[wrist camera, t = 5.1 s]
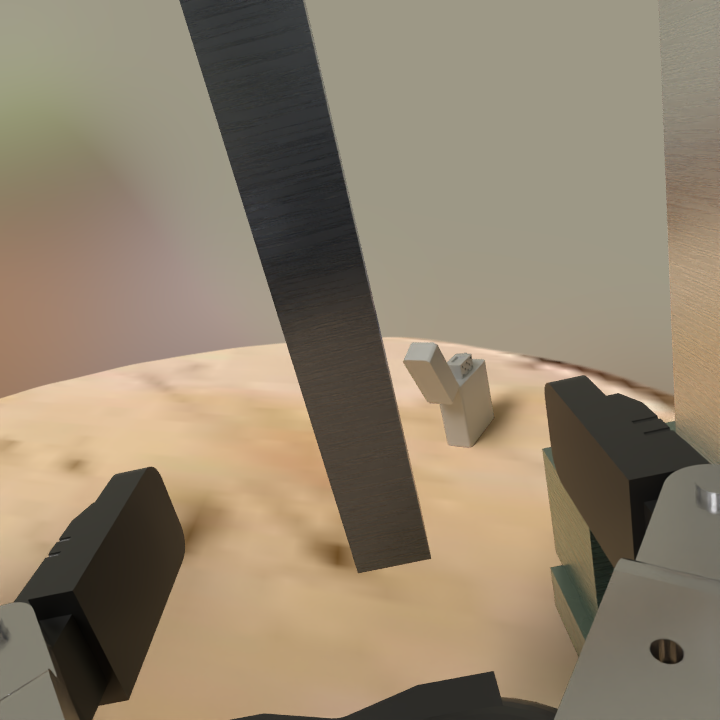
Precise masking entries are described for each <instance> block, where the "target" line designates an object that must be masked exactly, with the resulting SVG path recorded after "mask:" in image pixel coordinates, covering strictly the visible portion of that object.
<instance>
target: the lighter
mask: <svg viewBox="0 0 720 720" xmlns="http://www.w3.org/2000/svg"><path fill="white" fill-rule="evenodd" d="M403 363H404V364H405V366H406V368H407V369H408V371H409V373H410V374H411V376H412V378H413V379H414V381H415V382H416V384H417V386H418V387H419V389H420V391H421V392H422V394H423V396H424V397H425V399H426V400H427V402H429V403H436V404H440V408H441V413H442V418H443V423H444V428H445V433H446V438H447V443H448V445H451V446H460V447H468V448H469V447H472V446H473V445H474V443H475V442H476V441H477V439H478V438H479V437H480V436H481V434H482V433H483V432H484V430H485V429H486V428H487V426H488V425H489V424H490V422H491V421H492V420H493V418H494V413H493V407H492V401H491V395H490V389H489V383H488V377H487V371H486V365H485V360H483V359H472V356H471V354H467V353H464V354H455V355H454V356H453V357H452V358H451V359H450V360H449V361H448V362H446V360H445V358H444V356H443V355H442V353H441V351H440V349H439V347H438V345H437V344H435V343H412V344H411V345H410V347H409V350H408V352H407V354H406V356H405V358H404V361H403Z"/></svg>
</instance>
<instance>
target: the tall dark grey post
mask: <svg viewBox="0 0 720 720" xmlns="http://www.w3.org/2000/svg"><path fill="white" fill-rule="evenodd" d="M180 4H181V7H182V10H183V13H184V16H185V20H186V23H187V26H188V29H189V32H190V36H191V39H192V42H193V45H194V49H195V52H196V55H197V58H198V61H199V65H200V67H201V71H202V74H203V77H204V81H205V83H206V87H207V90H208V93H209V96H210V100H211V103H212V106H213V109H214V112H215V116H216V119H217V122H218V125H219V129H220V132H221V135H222V138H223V141H224V145H225V148H226V151H227V154H228V157H229V161H230V164H231V167H232V170H233V174H234V177H235V180H236V183H237V186H238V190H239V193H240V196H241V199H242V202H243V206H244V209H245V212H246V215H247V218H248V222H249V224H250V228H251V231H252V234H253V238H254V241H255V244H256V247H257V250H258V254H259V257H260V260H261V263H262V267H263V270H264V273H265V276H266V279H267V282H268V286H269V289H270V292H271V295H272V298H273V302H274V305H275V308H276V311H277V315H278V318H279V321H280V324H281V327H282V330H283V334H284V337H285V340H286V343H287V347H288V350H289V353H290V356H291V360H292V363H293V366H294V369H295V372H296V376H297V379H298V382H299V385H300V388H301V392H302V395H303V398H304V401H305V404H306V408H307V411H308V414H309V417H310V420H311V424H312V427H313V430H314V433H315V436H316V440H317V443H318V446H319V449H320V452H321V456H322V459H323V462H324V465H325V469H326V472H327V475H328V478H329V481H330V485H331V488H332V491H333V494H334V497H335V501H336V504H337V507H338V510H339V513H340V517H341V520H342V523H343V526H344V529H345V533H346V536H347V539H348V542H349V545H350V549H351V552H352V555H353V558H354V561H355V565H356V568H357V571H358V573H362V572H367V571H372V570H377V569H382V568H387V567H392V566H397V565H402V564H407V563H412V562H417V561H422V560H427V559H431V555H430V550H429V545H428V540H427V536H426V531H425V526H424V521H423V516H422V511H421V507H420V502H419V498H418V494H417V489H416V485H415V480H414V476H413V472H412V467H411V463H410V459H409V454H408V450H407V445H406V441H405V437H404V432H403V428H402V424H401V419H400V415H399V410H398V406H397V402H396V397H395V393H394V388H393V384H392V380H391V375H390V371H389V367H388V362H387V358H386V353H385V349H384V345H383V340H382V336H381V332H380V327H379V323H378V319H377V314H376V310H375V305H374V302H373V297H372V292H371V288H370V283H369V279H368V275H367V270H366V266H365V262H364V257H363V253H362V248H361V244H360V240H359V235H358V231H357V227H356V222H355V218H354V214H353V209H352V205H351V201H350V196H349V192H348V187H347V183H346V179H345V174H344V170H343V166H342V161H341V157H340V153H339V148H338V143H337V139H336V135H335V130H334V126H333V122H332V117H331V113H330V108H329V104H328V100H327V95H326V91H325V87H324V82H323V78H322V74H321V70H320V65H319V60H318V56H317V52H316V47H315V43H314V39H313V35H312V30H311V25H310V21H309V17H308V12H307V8H306V4H305V0H180Z"/></svg>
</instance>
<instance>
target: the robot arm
mask: <svg viewBox="0 0 720 720" xmlns="http://www.w3.org/2000/svg"><path fill="white" fill-rule="evenodd" d="M545 401H546V409H547V417H548V425H549V433H550V441H551V449H552V456H553V461H554V464H555V468H556V471H557V474H558V476H559V479H560V481H561V483H562V485H563V486H564V488H565V490H566V491H567V493H568V494H569V496H570V498H571V499H572V501H573V503H574V504H575V506H576V507H577V509H578V511H579V512H580V514H581V515H582V517H583V519H584V520H585V522H586V523H587V525H588V527H589V528H590V530H591V532H592V533H593V535H594V536H595V538H596V540H597V541H598V543H599V544H600V546H601V548H602V549H603V551H604V553H605V554H606V556H607V557H608V559H609V561H610V562H611V564H612V565H613V567H614V571H613V574H612V576H611V579H610V581H609V584H608V586H607V588H606V591H605V593H604V596H603V598H602V601H601V603H600V606H599V608H598V611H597V613H596V616H595V618H594V621H593V623H592V626H591V628H590V631H589V633H588V636H587V638H586V641H585V643H584V646H583V648H582V651H581V653H580V656H579V658H578V661H577V663H576V666H575V668H574V671H573V673H572V676H571V678H570V681H569V683H568V686H567V688H566V691H565V693H564V696H563V698H562V701H561V703H560V706H559V708H558V709H556V708H553V707H550V706H547V705H543V704H540V703H537V702H532V701H527V700H522V699H516V698H504V697H501V696H500V693H499V689H498V685H497V682H496V678H495V674H494V671H492V672H486V673H481V674H475V675H470V676H465V677H459V678H454V679H448V680H443V681H438V682H432V683H427V684H421V685H417V686H415V687H412V688H410V689H408V690H405V691H403V692H401V693H399V694H396V695H394V696H392V697H389V698H387V699H385V700H382V701H380V702H378V703H376V704H373V705H371V706H369V707H366V708H364V709H362V710H360V711H357V712H355V713H353V714H350V715H348V716H345V717H342V718H333V719H331V718H318V717H304V716H290V715H277V714H259V715H253V716H248V717H242V718H237V719H232V720H720V465H719V464H710V463H709V462H708V461H707V460H706V459H705V458H704V457H702V456H701V455H700V454H699V453H698V452H697V451H696V450H695V449H693V448H692V447H691V446H690V445H689V444H688V443H687V442H686V441H685V440H683V439H682V438H681V437H680V436H679V435H678V434H677V433H676V432H675V431H673V430H670V427H669V426H668V425H667V424H666V423H665V422H663V421H662V420H661V419H658V417H657V415H656V414H655V413H653V412H652V411H651V410H650V409H649V408H648V407H647V406H646V405H645V404H643V403H642V402H640V401H637V400H635V399H632V398H629V397H627V396H624V395H622V394H619V393H617V394H613V395H608V396H606V395H605V394H604V393H603V392H602V391H601V390H600V389H599V388H598V387H597V386H596V385H595V384H594V383H593V382H592V381H591V380H590V379H589V378H588V377H586V376H585V375H583V376H578V377H573V378H569V379H564V380H559V381H554V382H550V383H546V385H545ZM59 540H60V542H57V543H56V544H55V545H54V547H53V548H52V550H51V551H50V552H49V557H47V558H45V559H44V561H43V562H42V564H41V565H40V566H39V568H38V569H37V571H36V572H35V573H34V575H33V576H32V577H31V579H30V580H29V582H28V583H27V584H26V586H25V587H24V589H23V590H22V591H21V593H20V594H19V596H18V597H17V598H16V600H15V601H14V603H9V604H5V605H2V606H0V720H94V719H93V717H94V715H95V712H96V710H97V708H98V706H100V705H105V704H110V703H116V702H121V701H126V700H129V698H130V695H131V693H132V690H133V688H134V685H135V682H136V680H137V677H138V675H139V672H140V669H141V667H142V664H143V662H144V659H145V657H146V654H147V651H148V649H149V646H150V644H151V641H152V639H153V636H154V633H155V631H156V628H157V626H158V623H159V621H160V618H161V615H162V613H163V610H164V608H165V605H166V602H167V600H168V597H169V595H170V592H171V590H172V587H173V584H174V582H175V579H176V577H177V574H178V572H179V569H180V566H181V564H182V561H183V558H184V553H185V540H184V534H183V530H182V527H181V524H180V522H179V519H178V517H177V514H176V512H175V510H174V507H173V505H172V502H171V500H170V497H169V495H168V492H167V490H166V487H165V485H164V482H163V480H162V478H161V475H160V474H159V472H158V471H157V470H156V469H155V468H154V467H147V468H142V469H138V470H133V471H128V472H124V473H119V474H115V475H114V476H113V477H112V478H111V480H110V481H109V483H108V484H107V486H106V487H105V488H104V490H103V491H102V493H101V494H100V496H99V497H98V499H97V500H96V501H95V503H93V504H91V505H90V506H89V507H88V508H87V509H85V510H84V511H83V512H82V513H81V514H80V515H78V516H77V517H76V518H75V519H74V520H72V522H71V523H70V524H69V526H68V527H67V529H66V530H65V531H64V533H63V534H62V536H61V537H60V538H59Z"/></svg>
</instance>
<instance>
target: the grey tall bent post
mask: <svg viewBox="0 0 720 720" xmlns="http://www.w3.org/2000/svg"><path fill="white" fill-rule="evenodd" d="M659 23H660V24H659V25H660V48H661V49H660V50H661V74H662V75H661V76H662V98H663V99H662V100H663V125H664V150H665V175H666V197H667V198H666V200H667V222H668V223H667V224H668V247H669V248H668V249H669V272H670V273H669V274H670V299H671V323H672V346H673V347H672V348H673V373H674V398H675V421H673V422H668V423H666V424H667V425H668V426H669V427H670V430H673V431H675V432H676V433H677V434H678V435H679V436H680V437H681V438H682V439H683V440H685V441H686V442H687V443H688V444H689V445H690V446H691V447H692V448H693V449H695V450H696V451H697V452H698V453H699V454H700V455H701V456H702V457H704V458H705V459H706V460H707V461H708V462H709V463H710V464H719V465H720V0H659ZM542 450H543V458H544V465H545V473H546V480H547V488H548V495H549V503H550V510H551V518H552V525H553V533H554V540H555V548H556V553H557V555H558V557H559V559H560V561H561V563H562V565H561V566H556V567H551V576H552V583H553V590H554V597H555V604H556V607H557V610H558V612H559V614H560V616H561V619H562V621H563V623H564V625H565V627H566V630H567V632H568V634H569V636H570V639H571V641H572V643H573V645H574V647H575V650H576V652H577V654H578V656H580V653H581V651H582V648H583V646H584V643H585V641H586V638H587V636H588V633H589V631H590V628H591V626H592V623H593V621H594V618H595V616H596V613H597V611H598V608H599V606H600V603H601V601H602V598H603V596H604V593H605V591H606V588H607V586H608V584H609V581H610V579H611V576H612V574H613V571H614V567H613V565H612V564H611V562H610V561H609V559H608V557H607V556H606V554H605V553H604V551H603V549H602V548H601V546H600V544H599V543H598V541H597V540H596V538H595V536H594V535H593V533H592V532H591V530H590V528H589V527H588V525H587V523H586V522H585V520H584V519H583V517H582V515H581V514H580V512H579V511H578V509H577V507H576V506H575V504H574V503H573V501H572V499H571V498H570V496H569V494H568V493H567V491H566V490H565V488H564V486H563V485H562V483H561V481H560V479H559V476H558V474H557V471H556V468H555V464H554V461H553V456H552V449H551V447H549V448H544V449H542Z"/></svg>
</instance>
